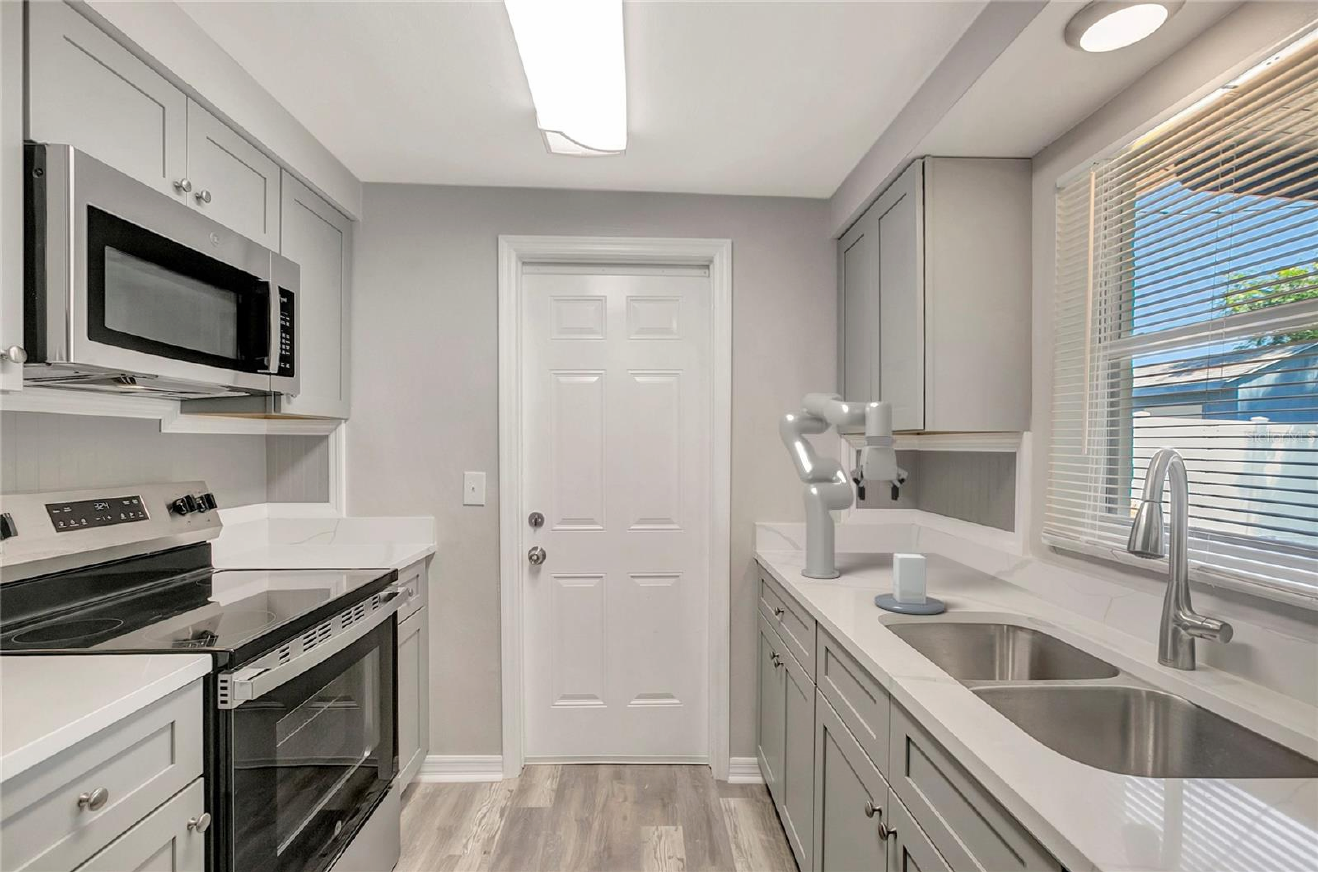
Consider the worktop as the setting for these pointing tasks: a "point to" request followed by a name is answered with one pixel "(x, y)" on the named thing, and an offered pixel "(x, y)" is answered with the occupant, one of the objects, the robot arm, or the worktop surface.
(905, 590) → the supplement box
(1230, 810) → the worktop surface
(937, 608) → the slate dish
